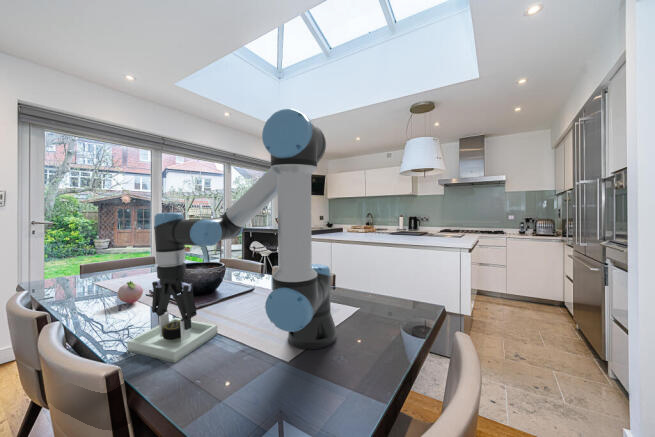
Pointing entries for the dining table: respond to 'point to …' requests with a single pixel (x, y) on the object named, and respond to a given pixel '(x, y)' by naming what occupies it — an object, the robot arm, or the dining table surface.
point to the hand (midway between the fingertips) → (175, 336)
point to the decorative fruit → (130, 292)
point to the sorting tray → (171, 342)
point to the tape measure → (172, 331)
